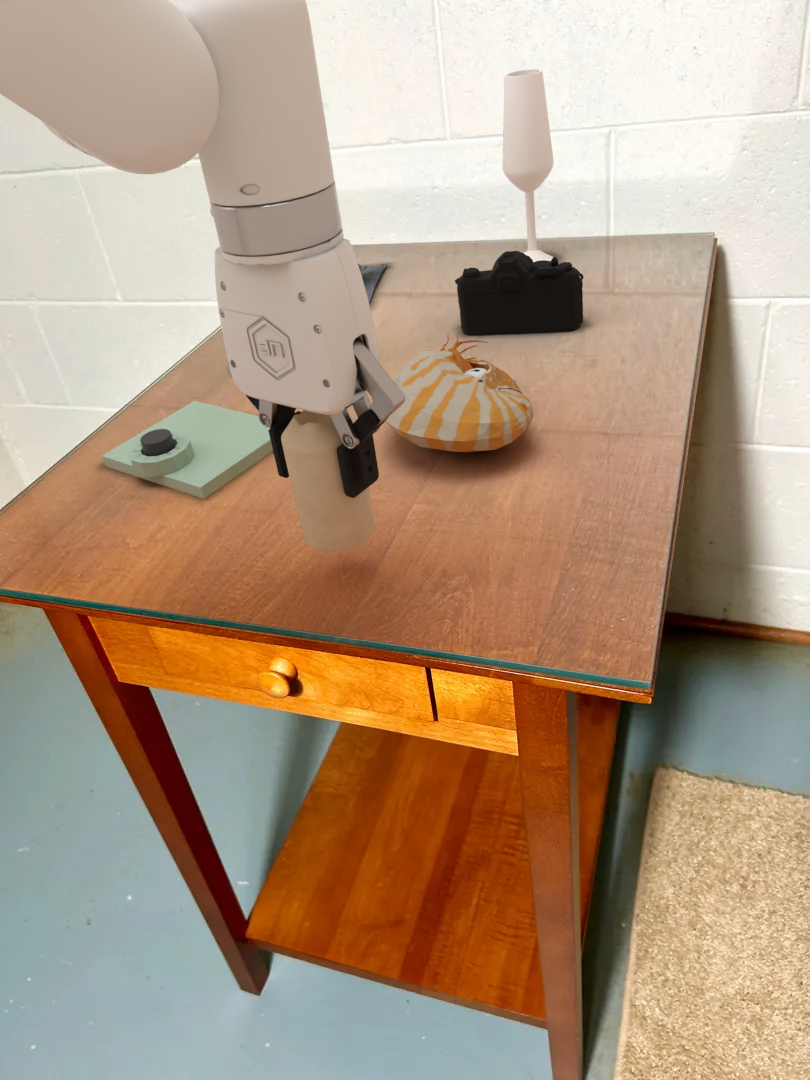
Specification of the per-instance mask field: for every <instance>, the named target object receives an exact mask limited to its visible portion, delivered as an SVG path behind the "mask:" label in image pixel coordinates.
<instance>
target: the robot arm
mask: <svg viewBox="0 0 810 1080" xmlns="http://www.w3.org/2000/svg"><path fill="white" fill-rule="evenodd" d="M313 37H314V36H313V31H312V24H311V19H310V14H309V9H308V4H307V1H306V0H0V95H1V96H2V97H4V98H6V99H7V100H9V101H10V102H12V103H13V104H15V105H16V106H18V107H19V108H21V109H22V110H24V111H26V112H27V113H29V114H30V115H32V116H33V117H35V118H37V119H38V120H40V121H41V122H42V124H43V125H45V126H46V128H47V129H48V130H49V131H50V132H51V133H52V134H54V136H55V137H57V138H58V139H59V140H61V141H62V142H64V143H65V144H67V145H68V146H70V147H72V148H74V149H76V150H78V151H79V152H82V153H84V154H85V155H88V156H91V157H93V158H95V159H97V160H98V161H100V162H102V163H104V164H106V165H107V166H109V167H112V168H114V169H117V170H119V171H122V172H126V173H131V174H135V175H156V174H157V175H158V174H162V173H167V172H170V171H172V170H175V169H178V168H180V167H181V166H183V165H185V164H187V163H188V162H190V161H191V160H192V159H194V157H196V155H198V158H199V162H200V167H201V170H202V175H203V179H204V183H205V187H206V191H207V195H208V199H209V205H210V206H209V210H210V211H209V212H210V214H211V215H210V216H211V217H212V218H213V222H214V226H215V230H216V235H217V239H218V243H219V246H218V247H217V248H216V249H215V250H214V277H215V278H214V279H215V290H216V300H217V308H218V315H219V322H220V327H221V333H222V337H223V338H222V339H223V343H224V347H225V354H226V357H227V361H228V362H227V364H226V367H225V368H226V372H227V374H228V375H229V376H230V377H231V378H232V381H233V383H234V386H235V387H236V389H237V390H238V391H239V392H241V393H243V395H245V396H246V398H247V399H248V400H249V403H251V404H252V405H253V406H254V407H255V409H256V410H257V411H258V416H259V420H260V422H261V424H262V425H263V426H265V427H270V429H269V430H268V431H269V436H270V440H271V444H272V448H273V451H272V452H273V458H274V461H275V465H276V470H277V474H278V476H279V477H280V478H284V479H288V478H290V477H289V473H288V468H287V464H286V459H285V455H284V450H283V446H282V441H281V435H282V433H283V432H284V430H285V429H286V427H287V426H288V425H289V423H290V422H291V420H292V418H293V416H294V415H297V414H301V412H302V411H303V410H305V411H310V412H314V413H319V414H325V415H330V417H331V419H332V421H333V423H334V425H335V428H336V430H337V432H338V434H339V436H340V439H341V441H342V443H343V444H341V445H340V446H338V447H337V456H338V462H339V467H340V472H341V478H342V483H343V488H344V493H345V494H346V496H348V497H351V498H355V497H356V496H358V495H359V494H360V493H361V492H363V491H364V490H365V489H366V488H368V487H369V488H370V486H372V485H373V484H374V483H375V482H377V481H378V479H379V477H380V471H379V466H378V459H377V453H376V447H375V441H374V434H376V433H377V432H378V431H379V430H380V428H381V426H383V424H384V423H386V422H385V421H386V420H387V419H388V418H389V416H390V415H391V414H393V413H394V412H395V411H396V410H397V409H398V408H399V407H400V406H401V405H402V404H403V403H404V402H405V396H404V394H403V393H402V391H401V390H400V389H399V388H398V386H397V385H396V384H395V383H394V381H393V379H392V377H391V376H390V375H389V373H388V372H387V371H386V369H385V368H384V367H383V366H382V365H381V363H380V352H379V346H378V340H377V334H376V329H375V324H374V319H373V314H372V310H371V306H370V302H369V301H368V297H367V293H366V290H365V286H364V283H363V279H362V275H361V272H360V269H359V266H358V264H359V263H358V261H357V257H356V254H355V252H354V249H353V246H352V244H351V240H349V239H346V238H345V237H344V229H343V223H342V218H341V217H342V216H341V210H340V204H339V199H338V191H337V186H336V181H335V173H334V169H333V162H332V155H331V148H330V143H329V142H330V141H329V137H328V136H329V135H328V129H327V123H326V116H325V109H324V103H323V97H322V90H321V83H320V77H319V69H318V64H317V58H316V57H317V56H316V51H315V45H314V38H313ZM367 393H368V394H369V395H370V397H371V399H372V402H371V400H370V398H369V396H368V394H367ZM350 407H353V410H354V413H355V414H356V416H357V419H355V420H356V421H355V422H354V423H353V422H352V420H351V418H350V417H351V415H350V414H349V411H348V409H349V408H350ZM296 410H297V411H296ZM300 410H301V411H300Z"/></svg>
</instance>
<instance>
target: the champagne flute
mask: <svg viewBox="0 0 810 1080" xmlns="http://www.w3.org/2000/svg"><path fill="white" fill-rule="evenodd" d="M503 78H504V79H503V121H502V123H503V128H502V129H503V130H502V172H503V174H504V175H505V177H506V178H507V179H508V181H509V182H510V183H511V184H513V185H514V186H515V187H516V188H517V189H518V190H520V191H522V192H523V193H524V200H525V219H526V236H527V237H526V239H527V250H526V251H524V252H523V253H524V254H525V255H527V256H529V257H530V258H531V259H532V260H533V262H535V261H541V260H546V261H551V260H552V259H553V257H554V256H552V255H550V254H548V253H546V252H544V251H542V250H539V249H538V248H537V230H536V212H535V211H536V209H535V191H536V190H538V189H539V188H540V187H541V186H542V184H543V183H544V182H545V181H546V179H547V178H548V177H549V175H550V174H551V172H552V170H553V168H554V162H555V161H554V153H553V152H554V151H553V145H552V136H551V130H550V121H549V114H548V113H549V112H548V104H547V97H546V89H545V81H544V71H543V69H541V68H528V69H520V70H515V71H511V72H508V73H505V74H504V77H503Z"/></svg>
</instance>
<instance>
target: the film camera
mask: <svg viewBox="0 0 810 1080" xmlns="http://www.w3.org/2000/svg"><path fill="white" fill-rule="evenodd" d="M552 257H553V259H552V260H551V261H546V260H541V261H535V262H533V260H532V259H531V258H530V257H529V256H527V255H525V254H524V252H521V251H519V250H511V251H510V250H509V251H504V252H502V254H500V255H499V256H498V258H496V260H495V262H494V263H493V266H492V268H491V269H487V270H479V268H477V267H468V268H466V267H465V268H463V271H462V275H460V276H459V277H457V278H456V279H454V283H455V284H456V291H457V298H458V299H457V302H458V307H459V317H460V318H459V319H460V329H461V332H462V334H464V335H465V336H505V335H534V334H557V333H571V332H575V331H577V330H578V329H580V328H581V324H583V322H584V303H583V302H584V301H583V298H584V295H583V293H584V292H583V286H584V281H583V279H584V274H583V273H581V272H580V271H579V270H578V269H577V268H576V267H575V266H573V264H572V262H569V261H563V262H560V263H559V259H558V257H556V256H552Z"/></svg>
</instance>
